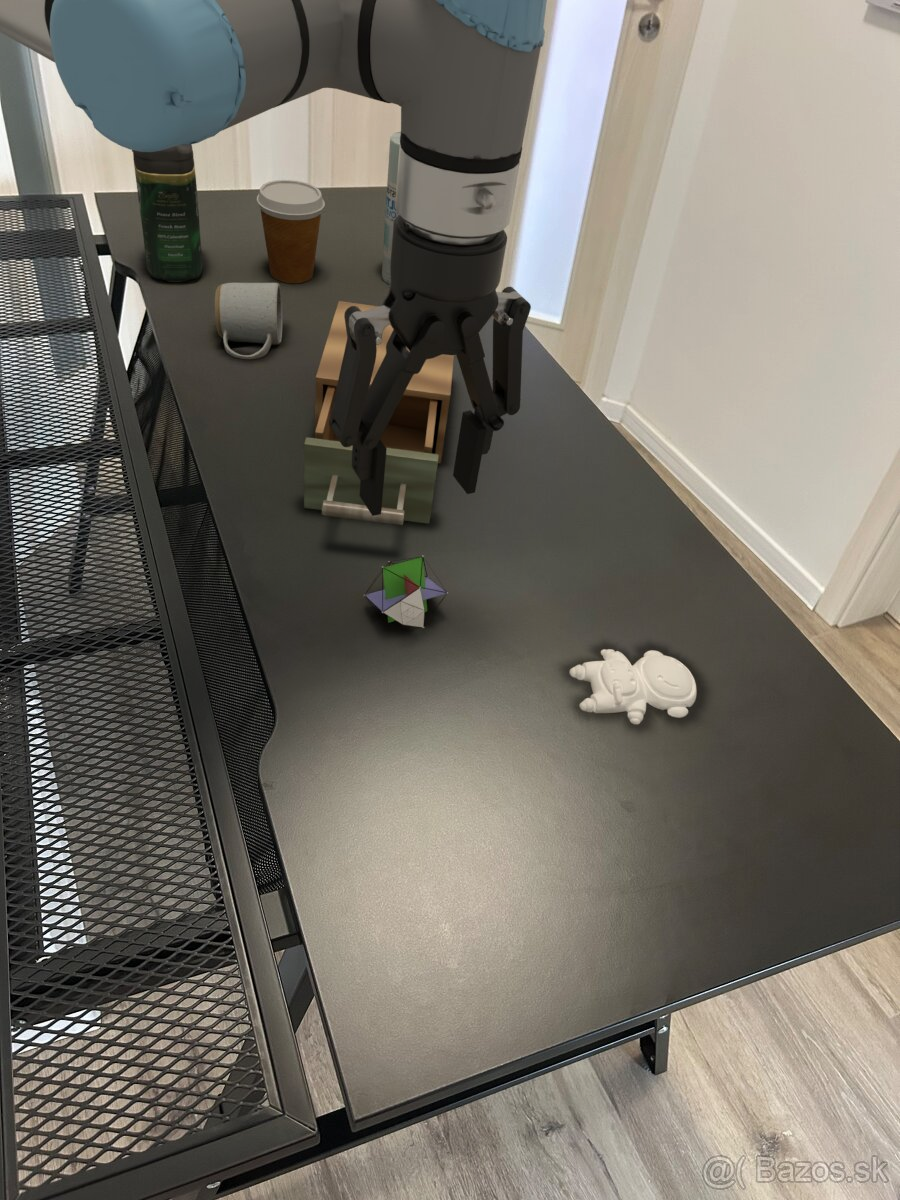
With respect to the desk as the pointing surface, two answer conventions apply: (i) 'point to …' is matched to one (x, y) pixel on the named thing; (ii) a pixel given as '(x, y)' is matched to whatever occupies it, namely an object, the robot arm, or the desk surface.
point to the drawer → (405, 466)
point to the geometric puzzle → (405, 592)
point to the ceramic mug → (249, 315)
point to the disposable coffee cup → (291, 227)
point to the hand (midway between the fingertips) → (418, 493)
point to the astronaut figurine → (637, 685)
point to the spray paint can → (390, 205)
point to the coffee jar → (169, 212)
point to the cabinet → (424, 384)
